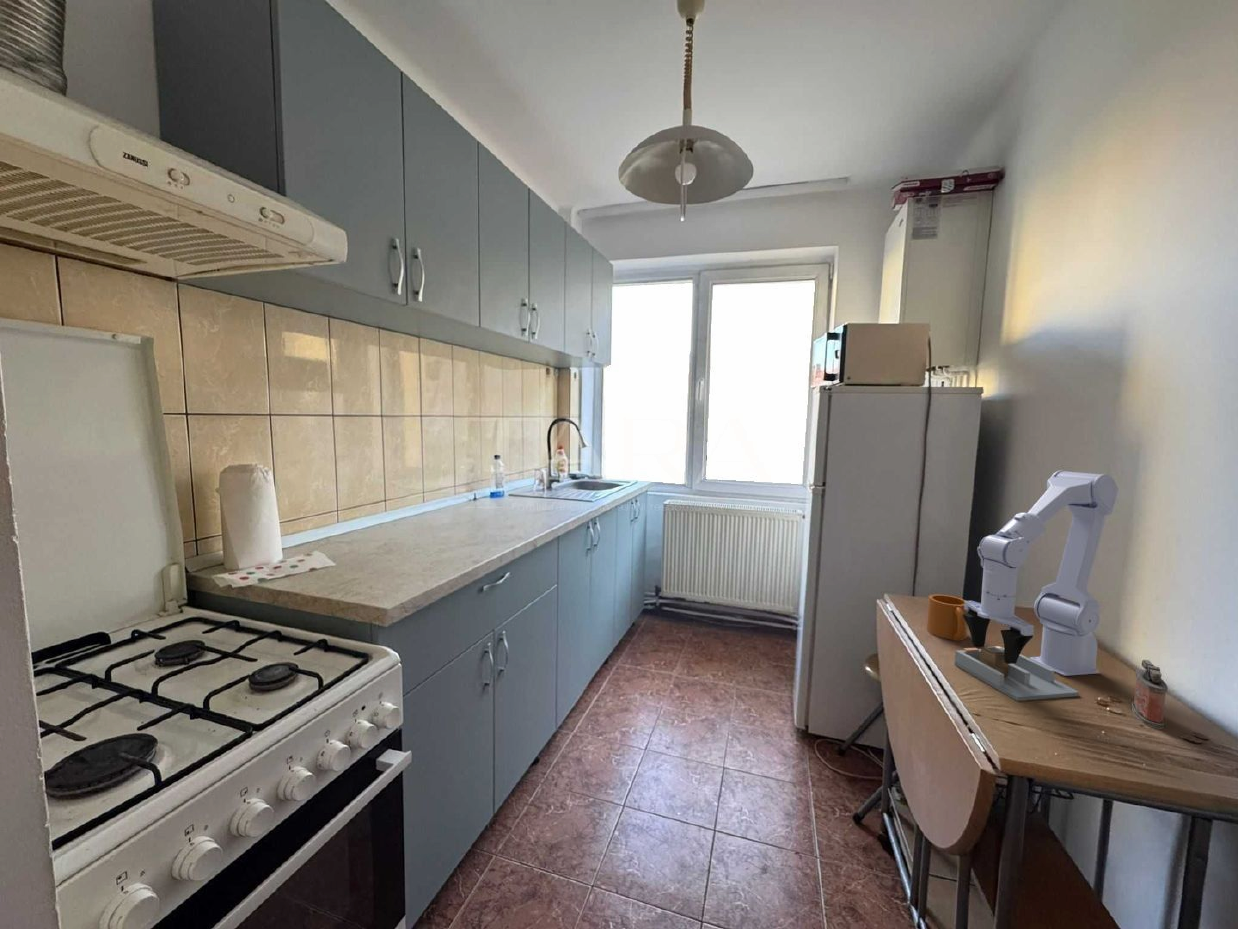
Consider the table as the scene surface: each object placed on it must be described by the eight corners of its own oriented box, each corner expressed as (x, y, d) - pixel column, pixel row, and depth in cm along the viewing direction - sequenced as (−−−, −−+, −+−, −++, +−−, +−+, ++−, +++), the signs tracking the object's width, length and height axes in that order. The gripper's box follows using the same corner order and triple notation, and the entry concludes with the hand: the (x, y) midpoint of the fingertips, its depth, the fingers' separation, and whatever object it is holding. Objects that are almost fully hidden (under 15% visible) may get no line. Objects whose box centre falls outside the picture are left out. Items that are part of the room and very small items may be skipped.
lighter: (1168, 731, 89) (1174, 677, 89) (1141, 725, 91) (1147, 672, 90) (1151, 710, 96) (1157, 659, 95) (1127, 704, 98) (1132, 655, 97)
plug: (992, 669, 110) (994, 645, 109) (1007, 677, 106) (1009, 652, 106) (979, 670, 109) (980, 646, 109) (993, 678, 106) (995, 653, 105)
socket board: (1009, 661, 115) (1011, 645, 115) (1079, 695, 101) (1080, 678, 100) (954, 664, 113) (955, 649, 113) (1017, 701, 98) (1018, 682, 98)
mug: (934, 642, 125) (936, 607, 124) (922, 625, 136) (924, 592, 136) (977, 647, 122) (978, 611, 122) (961, 629, 134) (962, 596, 133)
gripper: (953, 582, 113) (950, 641, 114) (1014, 605, 99) (1009, 672, 100) (981, 581, 114) (977, 639, 115) (1044, 604, 100) (1039, 669, 101)
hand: (993, 654), depth 107 cm, fingers open, 7 cm apart
